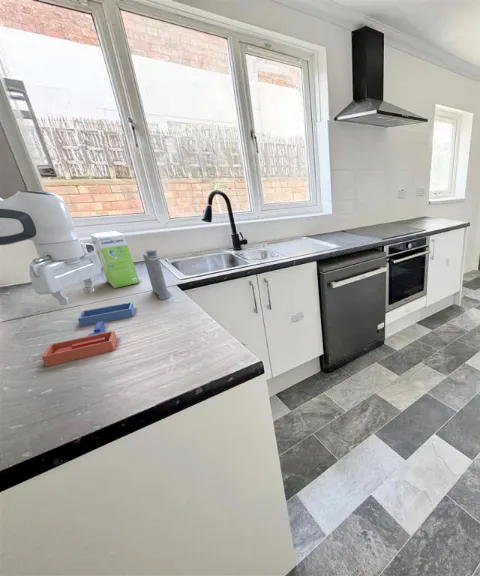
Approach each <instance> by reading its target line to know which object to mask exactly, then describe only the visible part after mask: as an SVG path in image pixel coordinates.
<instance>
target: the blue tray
mask: <svg viewBox="0 0 480 576" xmlns="http://www.w3.org/2000/svg"><path fill="white" fill-rule="evenodd" d="M134 314H135V306H134V303H133V301H131V302H126V303H120V304H119V303H118V304H114V305H109V306H103V307H102V306H101V307H97V308H92V309H86V310H82V311H81V313H80V314H79V316H78V318H77V320H78V323H79V325H80V327H81V328H82V327H88V326H93V325H96V324H97V322H101V321H103V323H107V322H112V321H116V320H122V319H128V318H132V317H134Z"/></svg>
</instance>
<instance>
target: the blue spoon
mask: <svg viewBox="0 0 480 576" xmlns="http://www.w3.org/2000/svg"><path fill="white" fill-rule="evenodd" d="M105 326H106V325H105V322H103V321H101V322H97V324H95V326H94V328H93V332H91V333H89V334H88V335H87V336H92V335H96V334H101V333H106V331H105V328H106V327H105Z"/></svg>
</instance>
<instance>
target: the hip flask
mask: <svg viewBox="0 0 480 576" xmlns="http://www.w3.org/2000/svg"><path fill="white" fill-rule="evenodd" d="M142 257H143V260H144V264H145V267H146V271H147V274H148V277H149V280H150V285H151V288H152V292H153V293H155V294H156V295H158V297H159V300H167V299H170V296H169V291H168V287H167V284H166V281H165V277H164V273H163V270H162V269H163V268H162V265H161V262H160V258H159V256H158V254H157V249H148V250H145V253H143V254H142Z"/></svg>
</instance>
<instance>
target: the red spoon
mask: <svg viewBox="0 0 480 576" xmlns="http://www.w3.org/2000/svg"><path fill="white" fill-rule="evenodd" d="M102 342H106V340H105V338H100V339H95V340H90V341H86V342H81V343H77V344H73V345H72V346H68V347H64V348H61V349H58V350H56V351H55V352H54V353H58V352H62V351H67V350H71V349H76V348H80V347H85V346H89V345H93V344H98V343H102Z"/></svg>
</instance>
